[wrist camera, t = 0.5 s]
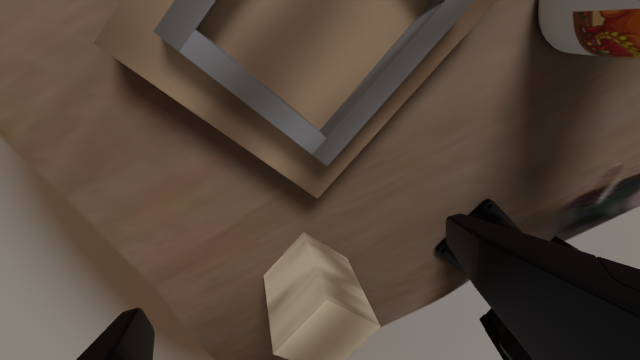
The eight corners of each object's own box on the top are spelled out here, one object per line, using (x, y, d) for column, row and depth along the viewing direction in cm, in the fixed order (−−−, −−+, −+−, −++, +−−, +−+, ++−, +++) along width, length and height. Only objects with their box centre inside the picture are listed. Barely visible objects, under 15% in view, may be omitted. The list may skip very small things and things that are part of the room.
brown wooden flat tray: (474, -4, 20) (525, -11, 16) (309, 182, 23) (323, 210, 19) (312, -263, 14) (339, -362, 10) (112, 40, 16) (79, 45, 13)
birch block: (347, 258, 27) (380, 327, 21) (308, 297, 28) (330, 374, 22) (303, 231, 25) (326, 299, 19) (263, 275, 26) (273, 354, 19)
